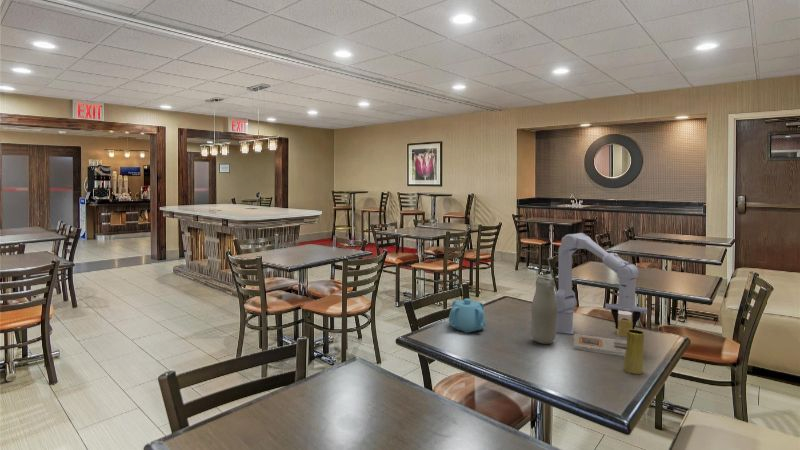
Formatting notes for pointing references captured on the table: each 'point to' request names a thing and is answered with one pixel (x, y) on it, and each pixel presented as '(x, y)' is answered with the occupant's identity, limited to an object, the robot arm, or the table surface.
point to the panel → (604, 345)
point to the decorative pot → (467, 315)
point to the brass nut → (624, 325)
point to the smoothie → (624, 314)
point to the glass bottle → (544, 311)
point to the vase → (634, 352)
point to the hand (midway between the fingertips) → (624, 329)
